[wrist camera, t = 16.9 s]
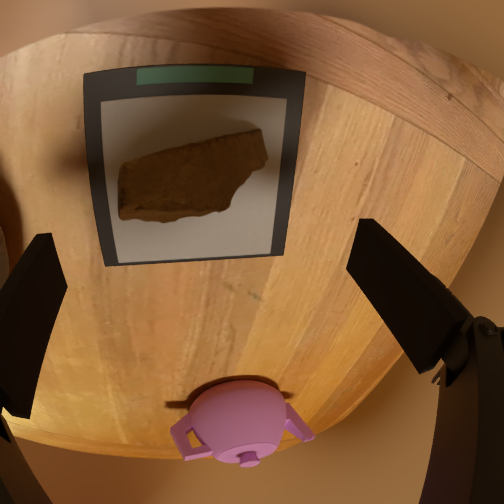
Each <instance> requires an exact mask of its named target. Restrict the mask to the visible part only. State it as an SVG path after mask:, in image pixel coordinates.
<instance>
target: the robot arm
mask: <svg viewBox="0 0 504 504" xmlns="http://www.w3.org/2000/svg"><path fill="white" fill-rule="evenodd" d="M346 270H347V271H348V272H349V274H350V275H351V276H352V278H353V279H354V280H355V282H356V283H357V284H358V286H359V287H360V289H361V290H362V291H363V293H364V294H365V295H366V297H367V298H368V300H369V301H370V302H371V304H372V305H373V307H374V308H375V309H376V311H377V312H378V314H379V315H380V316H381V318H382V319H383V321H384V322H385V324H386V325H387V327H388V328H389V329H390V331H391V332H392V334H393V335H394V337H395V338H396V340H397V341H398V343H399V344H400V346H401V347H402V349H403V350H404V352H405V353H406V355H407V356H408V357H409V359H410V361H411V362H412V363H413V365H414V367H415V368H416V370H417V371H418V373H419V374H421V373H424V372H426V371H429V370H431V369H433V368H434V367H435V366H436V364H437V363H438V361H439V360H440V359H441V358H442V360H443V361H444V365H443V366H442V367H441V368H440V370H439V371H438V372H437V374H436V375H435V376H434V377H433V379H432V383H434V382H435V381H436V380H437V378H438V377H440V380H439V382H438V383H437V385H440V387H439V399H438V409H437V417H436V425H435V431H434V438H433V444H432V449H431V455H430V460H429V465H428V469H427V474H426V478H425V482H424V486H423V490H422V494H421V498H420V501H419V504H504V327H497V326H496V325H495V324H494V323H493V322H492V321H491V320H489V319H487V318H486V317H482V316H479V317H476V318H474V317H473V316H472V315H471V314H470V313H469V311H468V310H467V309H466V308H465V307H464V306H463V305H462V303H461V302H460V301H459V300H458V299H457V298H456V297H455V296H454V295H452V292H451V291H450V290H449V289H448V288H446V286H445V285H444V284H443V283H442V282H441V281H440V280H439V279H438V278H437V277H435V276H434V275H432V274H431V273H430V272H429V271H428V270H427V269H426V268H425V267H424V266H423V265H422V264H421V263H420V262H419V261H418V260H417V259H416V258H415V257H414V256H413V255H412V254H410V253H409V252H408V251H407V250H406V249H405V248H404V247H403V246H402V245H401V244H400V243H399V242H398V241H397V240H396V239H395V238H394V237H393V236H392V235H391V234H389V233H388V232H387V231H386V230H385V229H384V228H383V227H382V226H381V225H380V224H379V223H377V222H376V221H375V220H374V219H359V223H358V227H357V231H356V234H355V238H354V242H353V246H352V249H351V253H350V257H349V260H348V264H347V267H346ZM67 287H68V286H67V283H66V280H65V277H64V274H63V271H62V268H61V265H60V261H59V258H58V255H57V251H56V248H55V244H54V240H53V237H52V233H43V234H36V236H35V237H34V238H33V240H32V241H31V243H30V244H29V246H28V247H27V248H26V250H25V251H24V253H23V254H22V256H21V257H20V259H19V261H18V262H17V264H16V265H15V267H14V268H13V270H12V272H11V273H10V275H9V277H8V278H7V280H6V282H5V283H4V285H3V287H2V288H1V290H0V504H53V503H52V502H51V500H50V499H49V497H48V496H47V494H46V493H45V491H44V490H43V488H42V487H41V485H40V483H39V482H38V480H37V479H36V477H35V475H34V474H33V472H32V470H31V469H30V467H29V465H28V463H27V462H26V460H25V458H24V456H23V454H22V453H21V451H20V449H19V447H18V445H17V443H16V441H15V439H14V437H13V435H12V432H11V430H10V428H9V426H8V424H7V422H6V420H5V418H4V417H3V416H2V415H1V413H2V409H3V407H4V408H5V409H6V410H7V411H8V412H9V413H10V414H11V415H12V416H15V417H20V418H25V419H30V415H31V410H32V405H33V400H34V395H35V391H36V386H37V382H38V378H39V374H40V370H41V366H42V363H43V359H44V355H45V352H46V349H47V345H48V342H49V339H50V335H51V332H52V329H53V326H54V323H55V320H56V317H57V314H58V312H59V309H60V306H61V303H62V301H63V298H64V295H65V293H66V290H67Z"/></svg>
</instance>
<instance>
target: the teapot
mask: <svg viewBox="0 0 504 504" xmlns="http://www.w3.org/2000/svg"><path fill="white" fill-rule="evenodd" d="M284 428H285V429H286V430H287V431H289V432H290V433H292V434H293V435H295V436H296V437H298V438H300V439H301V440H303V442H305V441H309V440H312V439H314V437H315V434H314V433H313V432H312V431H311V430H310V428H309V427H308V426H307V425H306V424H305V422H304V421H303V420H302V419H301V418H300V416H299V415H298V414H297V413H296V411H295V410H294V409H293V408H292V406H291V405H290V404H289V403H285V400H284V397H283V395H282V394H281V393H280V392H279V391H278V390H277V389H275V388H274V387H272V386H270V385H268V384H265V383H263V382H260V381H255V380H236V381H230V382H225V383H221V384H218V385H215V386H213V387H211V388H209V389H207V390H205V391H204V392H203V393H201V394H200V395H199V397H198V398H197V399H196V400H195V401H194V402H193V404H192V405H191V407H190V409H189V413H188V414H186V415H185V416H184V417H183V418H182V419H181V420H179V421H178V422H177V423H176V424H175V425H173V426H172V427H171V428H170V433H171V435H172V437H173V439H174V441H175V443H176V445H177V447H178V449H179V451H180V453H181V455H182V457H183V459H184V460H191V459H196V458H201V457H206V456H210V455H213V456H214V457H215V458H216V459H217V460H219V461H222V462H226V463H239V466H240V467H252V466H255V465H258V464H259V463H260V460H259V459H260V458H263V457H265V456H267V455H269V454H271V453H273V452H274V451H275V450H276V449H277V447H278V445H279V443H280V441H281V438H282V435H283V431H284ZM192 430H193V432H194V434H195V435H196V437H197V439H198V440H199V441H200V443H201V444H202V445H203V446H200V447H197V448H193V449H192V447H191V445H190V442H189V440H188V437H187V434H188V433H189V432H190V431H192Z"/></svg>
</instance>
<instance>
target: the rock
mask: <svg viewBox="0 0 504 504" xmlns="http://www.w3.org/2000/svg"><path fill="white" fill-rule="evenodd" d="M267 160H268V154H267V152H266V148H265V144H264V139H263V135H262V130H261V129H260V128H258V129H253V130H249V131H244V132H238V133H233V134H225V135H222V136H217V137H213V138H209V139H204V140H200V141H197V142H194V143H191V142H190V143H187V144H183V145H181V146H177V147H171V148H167V149H164V150H161V151H157V152H154V153H150V154H146V155H143V156H140V157H137V158H134V159H130V160H127V161H123V162H122V164H121V165H120V168H119V176H118V216H119V219H120V220H123V221H126V220H127V221H128V220H132V219H139V220H142V221H145V222H151V221H153V222H161V223H169V222H176V221H177V220H178V219H179V218H185V217H202V216H205V215H208V214H210V213H212V212H218V213H220V212H222V211H225V210H227V209H228V208H229V207H230V205H231V200H232V198H233V196H234V194H235V192H236V191H237V189H238V188H239V187H240V186H242V185H243V184H244V183H245V182H246V180H247V179H248V178H249V177H250V176H251V174H252V172H253V171H257V170H260V169H262V168H264V166H265V162H266V161H267Z"/></svg>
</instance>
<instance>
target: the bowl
mask: <svg viewBox="0 0 504 504" xmlns="http://www.w3.org/2000/svg"><path fill="white" fill-rule="evenodd" d="M8 277H9V257H8V253H7V248H6V244H5V238H4V233H3V231H2V228H1V226H0V290H1V288H2V287H3V285H4V283H5V282H6V280H7V278H8Z"/></svg>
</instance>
